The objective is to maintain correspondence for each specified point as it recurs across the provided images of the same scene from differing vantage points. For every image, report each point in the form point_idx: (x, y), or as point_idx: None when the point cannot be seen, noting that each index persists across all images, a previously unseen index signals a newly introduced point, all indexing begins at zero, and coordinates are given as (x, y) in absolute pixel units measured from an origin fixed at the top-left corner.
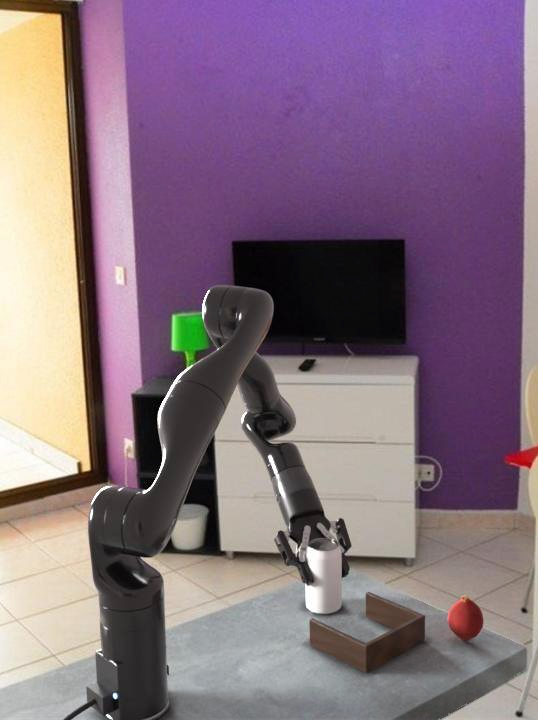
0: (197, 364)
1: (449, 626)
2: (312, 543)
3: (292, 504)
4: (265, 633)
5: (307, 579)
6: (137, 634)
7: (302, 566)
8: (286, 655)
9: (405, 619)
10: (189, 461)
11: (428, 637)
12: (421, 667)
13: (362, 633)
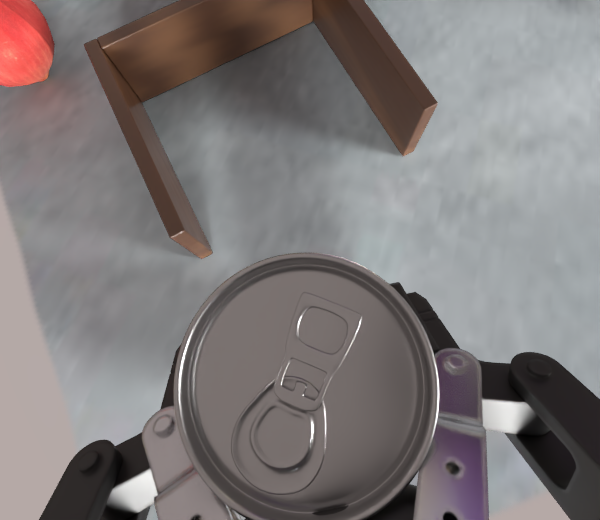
0: None
1: (49, 42)
2: (380, 457)
3: None
4: (527, 244)
5: (410, 295)
6: None
7: (443, 344)
8: (484, 120)
9: (135, 107)
10: None
11: (111, 111)
12: None
13: (258, 171)
